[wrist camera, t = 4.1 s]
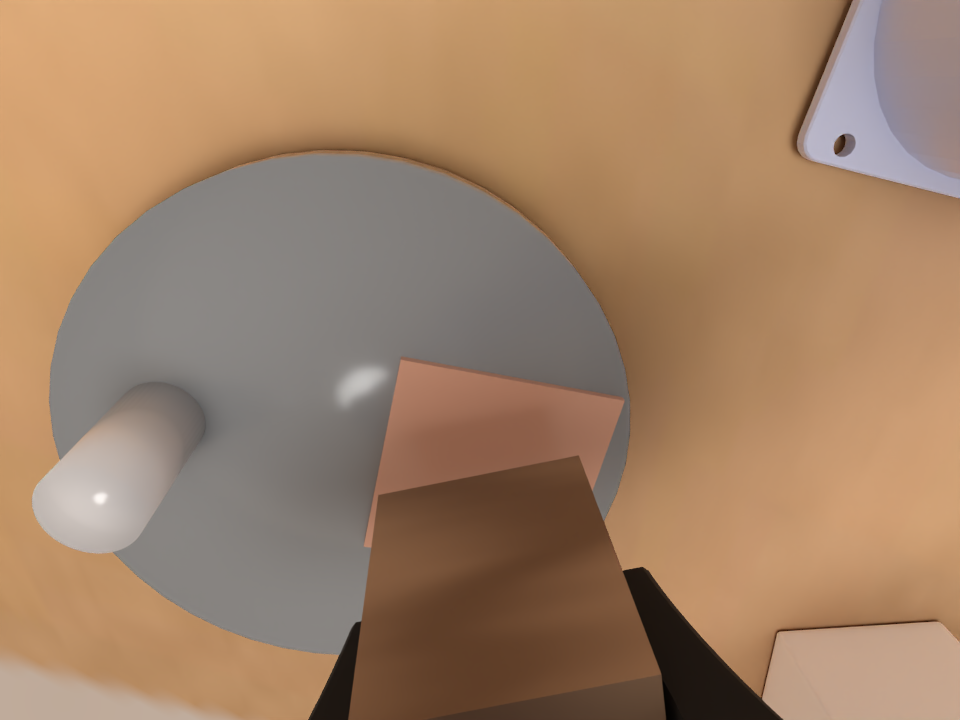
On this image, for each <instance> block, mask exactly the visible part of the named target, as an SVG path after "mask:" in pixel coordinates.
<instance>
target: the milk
mask: <svg viewBox="0 0 960 720" xmlns="http://www.w3.org/2000/svg"><path fill="white" fill-rule="evenodd" d="M762 700H763V701H764V702H765V703H766V704H767V705H768V706H769V707H770V708H771V709H772V710H774V711H775V712H776V713H777V714H778V715H779V716H780V717H781V718H782V719H783V720H960V642H959V641H958V640H957V639H956V638H955V637H954V636H953V635H952V634H951V633H950V631H949V630H948V629H947V628H946V627H945V626H944V625H943V624H942V623H940V622H921V623H905V624H890V625H874V626H859V627H843V628H827V629H812V630H796V631H782V632H778V633H777V636H776V641H775V645H774V649H773V654H772V658H771V662H770V666H769V671H768V675H767V679H766V684H765V688H764V692H763V697H762Z"/></svg>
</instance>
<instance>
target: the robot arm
mask: <svg viewBox="0 0 960 720" xmlns="http://www.w3.org/2000/svg"><path fill="white" fill-rule="evenodd" d="M843 134H844V136H845V139H846V143H845V147H844V148H843V150H842V151H841V152H839V153H838V154H835V152H834V150H833V147H834V142H835V141H836V140H837V138H838V137H839V136H841V135H843ZM797 147H798V151H799V153H800V154H801V156H802V157H804V158H806V159H807V160H810V161H814V162H818V163H822V164H826V165H830V166H834V167H838V168H842V169H845V170H849V171H853V172H857V173H861V174H865V175H869V176H873V177H877V178H881V179H885V180H889V181H893V182H897V183H901V184H904V185H908V186H912V187H916V188H920V189H924V190H928V191H932V192H936V193H940V194H944V195H948V196H952V197H956V198H960V0H853V1H852V4H851V6H850V9H849V11H848V14H847V16H846V18H845V21H844V23H843V26H842V28H841V31H840V33H839V36H838V38H837V41H836V43H835V46H834V48H833V51H832V53H831V56H830V58H829V61H828V63H827V65H826V68H825V70H824V73H823V75H822V78H821V80H820V83H819V85H818V88H817V90H816V93H815V95H814V98H813V100H812V103H811V105H810V107H809V110H808V112H807V115H806V117H805V120H804V122H803V125H802V127H801V130H800V132H799V135H798V140H797ZM623 574H624V576H625V579H626V582H627V584H628V587H629V590H630V592H631V595H632V598H633V600H634V603H635V606H636V608H637V611H638V614H639V616H640V619H641V621H642V624H643V627H644V629H645V632H646V635H647V637H648V640H649V643H650V645H651V648H652V651H653V653H654V656H655V659H656V661H657V664H658V667H659V669H660V672H661V675H662V685H663V694H664V704H665V714H666V720H783V719H782V718H781V717H780V716H779V715H778V714H777V713H776V712H775V711H774V710H772V709H771V708H770V707H769V706H768V705H767V704H766V703H765V702H764V701H763V700H762V699H761V698H760V697H759V696H758V695H757V694H756V693H755V692H754V691H753V690H752V689H751V688H750V687H749V686H748V685H746V684H745V683H744V682H743V681H742V680H741V679H740V678H739V676H738V675H737V674H736V673H735V672H734V671H733V670H732V669H731V668H730V667H729V666H728V665H727V664H726V663H725V662H724V661H723V660H722V659H721V658H720V657H719V656H718V654H717V653H716V652H715V651H714V650H713V649H712V648H711V647H710V646H709V645H708V644H707V643H706V642H705V640H704V639H703V638H702V637H701V636H700V635H699V634H698V633H697V632H696V630H695V629H694V628H693V627H692V626H691V625H690V624H689V622H688V621H687V620H686V619H685V618H684V616H683V615H682V614H681V613H680V612H679V610H678V609H677V608H676V607H675V606H674V604H673V603H672V602H671V601H670V599H669V598H668V597H667V596H666V594H665V593H664V592H663V590H662V589H661V588H660V586H659V585H658V584H657V582H656V581H655V579H654V578H653V577H652V575H651V574H650V572H649V571H648V570H646V569H645V568H643V567H640V568H634V569H629V570H624V571H623ZM360 628H361V621H360V622H356V623H355V624H354V625H353V627H352V628H351V630H350V632H349V635H348V637H347V639H346V642H345V644H344V646H343V648H342V651H341V653H340V655H339V657H338V660H337V662H336V664H335V666H334V668H333V670H332V673H331V675H330V677H329V679H328V681H327V683H326V685H325V687H324V689H323V691H322V694H321V696H320V698H319V700H318V702H317V704H316V705H315V707H314V709H313V711H312V713H311V715H310V717H309V719H308V720H348V718H349V710H350V703H351V696H352V688H353V681H354V673H355V666H356V658H357V651H358V643H359V636H360Z"/></svg>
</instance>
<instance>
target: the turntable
mask: <svg viewBox="0 0 960 720" xmlns="http://www.w3.org/2000/svg"><path fill="white" fill-rule="evenodd" d="M49 404H50V413H51V421H52V430H53V437H54V440H55V444H56V448H57V451H58V455H59V459H60V461H59V462H58V463H57V464H56V465H55V466H54V467H53V468H52V469H51V470H50V471H49V472H48V473H47V474H46V475H45V476H44V477H43V478H42V480H41V481H40V482H39V483H38V484H37V486H36V488H35V490H34V492H33V497H32V507H33V511H34V514H35V517H36V519H37V521H38V522H39V524H40V525H41V527H42V528H43V529H44V530H45V531H46V532H47V533H48V534H49V535H50V536H51V537H53V538H54V539H55V540H57V541H58V542H60V543H62V544H63V545H66V546H68V547H70V548H73V549H75V550H79V551H82V552H88V553H110V552H113V553H114V554H115V555H116V556H117V557H118V558H119V559H120V560H121V561H122V562H123V563H124V564H125V565H126V566H127V567H128V568H130V569H131V570H132V571H133V572H134V573H135V574H136V575H137V576H138V577H139V578H140V579H142V580H143V581H144V582H145V583H147V584H148V585H149V586H151V587H152V588H153V589H154V590H156V591H157V592H158V593H160V594H161V595H162V596H163V597H165V598H167V599H168V600H170V601H171V602H173V603H175V604H176V605H178V606H179V607H181V608H183V609H184V610H186V611H188V612H189V613H191V614H193V615H195V616H197V617H199V618H201V619H203V620H205V621H207V622H209V623H211V624H213V625H215V626H217V627H219V628H221V629H224V630H227V631H230V632H232V633H235V634H238V635H241V636H243V637H246V638H249V639H251V640H255V641H259V642H263V643H267V644H270V645H274V646H278V647H282V648H287V649H293V650H299V651H306V652H312V653H321V654H336V655H340V653H341V651H342V648H343V646H344V644H345V642H346V639H347V637H348V635H349V632H350V630H351V628H352V627H353V625H354V624H355V623H356V622H360V621H362V613H363V606H364V598H365V591H366V583H367V576H368V568H369V561H370V553H371V546H372V538H373V531H374V523H375V516H376V508H377V501H378V495H381V494H386V493H391V492H396V491H401V490H406V489H411V488H416V487H421V486H426V485H431V484H436V483H441V482H446V481H451V480H456V479H462V478H467V477H472V476H477V475H482V474H487V473H492V472H497V471H502V470H507V469H512V468H517V467H522V466H527V465H532V464H537V463H542V462H548V461H553V460H558V459H563V458H568V457H573V456H578V455H579V457H580V460H581V462H582V465H583V468H584V470H585V473H586V476H587V478H588V481H589V484H590V486H591V489H592V492H593V494H594V497H595V500H596V502H597V505H598V508H599V510H600V513H601V515H602V518H603V521H604V520H605V518H606V515H607V513H608V511H609V509H610V507H611V505H612V502H613V500H614V498H615V496H616V494H617V491H618V487H619V484H620V481H621V477H622V474H623V471H624V467H625V464H626V457H627V450H628V443H629V437H630V398H629V392H628V385H627V379H626V372H625V367H624V364H623V361H622V358H621V354H620V351H619V348H618V345H617V342H616V338H615V335H614V333H613V331H612V329H611V327H610V325H609V323H608V321H607V319H606V317H605V315H604V313H603V311H602V309H601V306H600V304H599V303H598V301H597V300H596V298H595V297H594V295H593V294H592V292H591V291H590V290H589V288H588V287H587V285H586V284H585V282H584V281H583V279H582V278H581V276H580V275H579V273H578V272H577V270H576V269H575V268H574V266H573V265H572V263H571V262H570V261H569V259H568V258H567V257H566V256H565V255H564V254H563V253H562V251H561V250H560V249H559V248H558V247H557V246H556V245H555V244H554V243H553V241H552V240H551V239H550V238H549V237H548V236H547V235H546V234H545V233H544V232H543V231H542V230H541V229H540V228H539V227H537V226H536V225H535V224H534V223H533V222H531V221H530V220H529V219H528V218H527V217H525V216H524V215H523V214H522V213H521V212H519V211H518V210H517V209H516V208H515V207H513V206H512V205H510V204H508V203H507V202H505V201H504V200H502V199H500V198H499V197H497V196H496V195H494V194H492V193H491V192H489V191H488V190H486V189H484V188H483V187H481V186H479V185H477V184H475V183H472V182H470V181H468V180H466V179H464V178H461V177H459V176H457V175H455V174H453V173H450V172H448V171H446V170H444V169H440V168H437V167H434V166H430V165H427V164H424V163H420V162H417V161H414V160H410V159H407V158H403V157H397V156H391V155H385V154H379V153H372V152H366V151H343V150H316V151H307V152H298V153H289V154H280V155H276V156H272V157H268V158H264V159H260V160H256V161H252V162H248V163H245V164H241V165H238V166H236V167H233V168H231V169H228V170H226V171H224V172H221V173H219V174H216V175H214V176H212V177H209V178H207V179H204V180H202V181H200V182H198V183H195V184H193V185H191V186H189V187H187V188H184V189H183V190H181V191H179V192H178V193H176V194H174V195H173V196H171V197H169V198H168V199H166V200H164V201H163V202H161V203H159V204H158V205H156V206H154V207H153V208H151V209H149V210H148V211H147V212H145V213H144V214H143V215H142V216H141V217H139V218H138V219H137V220H136V221H135V222H133V223H132V224H131V225H130V226H129V227H127V228H126V229H125V230H124V231H123V232H122V233H120V234H119V235H118V236H117V237H116V238H115V239H114V240H113V241H112V243H111V244H110V245H109V246H108V247H107V248H106V249H105V251H104V252H103V253H102V254H101V255H100V256H99V258H98V259H97V260H96V261H95V262H94V263H93V265H92V266H91V267H90V269H89V270H88V272H87V274H86V275H85V277H84V279H83V280H82V282H81V284H80V285H79V287H78V289H77V290H76V292H75V294H74V295H73V297H72V298H71V301H70V303H69V306H68V309H67V311H66V314H65V316H64V319H63V321H62V324H61V326H60V329H59V331H58V335H57V340H56V344H55V349H54V354H53V359H52V363H51V372H50V395H49Z"/></svg>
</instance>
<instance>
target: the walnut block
mask: <svg viewBox="0 0 960 720" xmlns="http://www.w3.org/2000/svg"><path fill="white" fill-rule="evenodd" d="M348 720H666V714H665V704H664V694H663V685H662V675H661V672H660V669H659V667H658V664H657V661H656V659H655V656H654V653H653V651H652V648H651V645H650V643H649V640H648V637H647V635H646V632H645V629H644V627H643V624H642V621H641V619H640V616H639V614H638V611H637V608H636V606H635V603H634V600H633V598H632V595H631V592H630V590H629V587H628V584H627V582H626V579H625V576H624V574H623V571H622V568H621V566H620V563H619V561H618V558H617V555H616V553H615V550H614V547H613V545H612V542H611V539H610V537H609V534H608V531H607V529H606V526H605V523H604V521H603V518H602V515H601V513H600V510H599V508H598V505H597V502H596V500H595V497H594V494H593V492H592V489H591V486H590V484H589V481H588V478H587V476H586V473H585V470H584V468H583V465H582V462H581V460H580V457H579V455H578V456H573V457H568V458H563V459H558V460H553V461H548V462H542V463H537V464H532V465H527V466H522V467H517V468H512V469H507V470H502V471H497V472H492V473H487V474H482V475H477V476H472V477H467V478H462V479H456V480H451V481H446V482H441V483H436V484H431V485H426V486H421V487H416V488H411V489H406V490H401V491H396V492H391V493H386V494H381V495H378V501H377V508H376V516H375V523H374V531H373V538H372V546H371V553H370V561H369V568H368V576H367V583H366V591H365V598H364V606H363V613H362V621H361V628H360V636H359V643H358V651H357V658H356V666H355V673H354V681H353V688H352V696H351V703H350V710H349V718H348Z"/></svg>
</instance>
